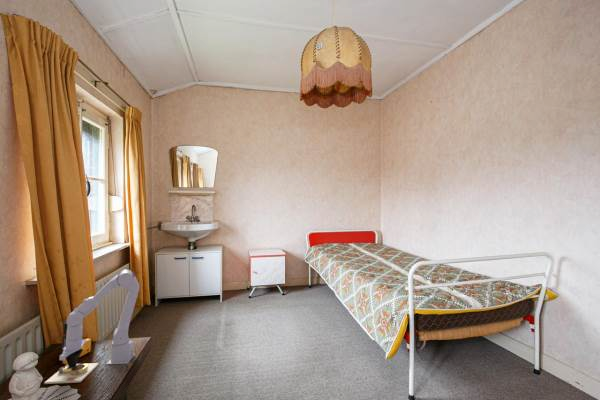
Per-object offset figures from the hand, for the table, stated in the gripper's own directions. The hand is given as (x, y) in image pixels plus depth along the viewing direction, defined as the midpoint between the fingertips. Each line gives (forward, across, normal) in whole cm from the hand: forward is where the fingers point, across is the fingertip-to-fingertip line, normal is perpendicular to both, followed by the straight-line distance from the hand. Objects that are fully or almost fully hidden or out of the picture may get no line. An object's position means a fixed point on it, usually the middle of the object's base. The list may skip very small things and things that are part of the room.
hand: (72, 367), depth 123 cm
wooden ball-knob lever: (0, +2, +2) cm, 3 cm away
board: (+2, +2, +2) cm, 3 cm away
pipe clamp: (+2, -12, -6) cm, 14 cm away
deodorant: (+2, -18, -14) cm, 23 cm away
